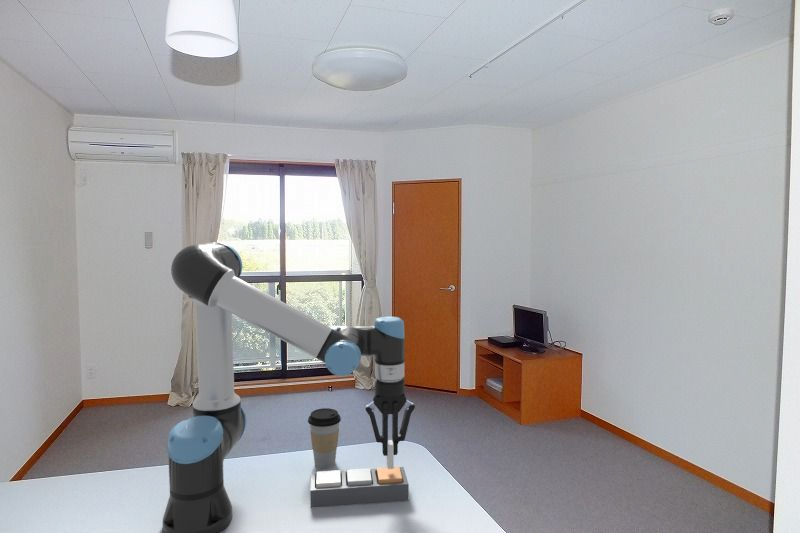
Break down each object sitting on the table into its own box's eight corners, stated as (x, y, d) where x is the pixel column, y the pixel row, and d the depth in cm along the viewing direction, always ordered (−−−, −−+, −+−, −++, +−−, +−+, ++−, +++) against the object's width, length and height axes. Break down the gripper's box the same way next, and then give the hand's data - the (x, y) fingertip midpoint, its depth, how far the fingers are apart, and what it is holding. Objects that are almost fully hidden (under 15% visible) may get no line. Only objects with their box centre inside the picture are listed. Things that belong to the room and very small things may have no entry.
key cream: (316, 491, 125) (316, 483, 125) (317, 478, 131) (316, 471, 131) (340, 489, 126) (340, 482, 125) (340, 477, 132) (340, 470, 131)
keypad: (310, 507, 124) (310, 490, 123) (311, 488, 132) (311, 472, 132) (408, 500, 127) (408, 484, 127) (403, 482, 136) (403, 466, 135)
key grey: (347, 489, 126) (347, 481, 126) (347, 476, 132) (347, 469, 132) (371, 487, 127) (371, 480, 127) (369, 475, 133) (369, 468, 132)
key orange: (378, 487, 127) (378, 479, 127) (376, 475, 133) (376, 467, 133) (402, 485, 128) (402, 478, 128) (399, 473, 134) (399, 466, 134)
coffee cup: (338, 471, 141) (338, 420, 140) (305, 470, 142) (304, 419, 140) (343, 455, 151) (342, 407, 149) (311, 455, 151) (311, 406, 149)
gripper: (365, 383, 123) (365, 475, 125) (417, 381, 125) (417, 472, 127) (363, 374, 130) (363, 461, 133) (412, 372, 132) (412, 458, 135)
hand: (390, 466), depth 130 cm, fingers closed
